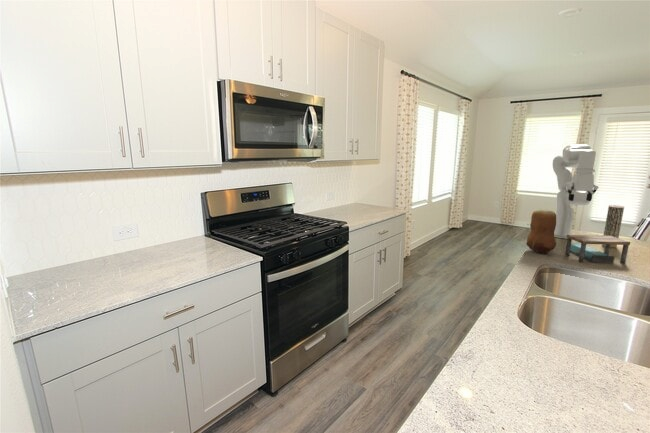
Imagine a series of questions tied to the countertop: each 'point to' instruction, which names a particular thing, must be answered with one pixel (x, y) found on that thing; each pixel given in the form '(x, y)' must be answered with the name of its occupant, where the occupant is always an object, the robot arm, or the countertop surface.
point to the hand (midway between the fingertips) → (579, 200)
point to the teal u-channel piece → (586, 250)
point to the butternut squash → (542, 231)
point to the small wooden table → (597, 240)
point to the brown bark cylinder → (613, 222)
